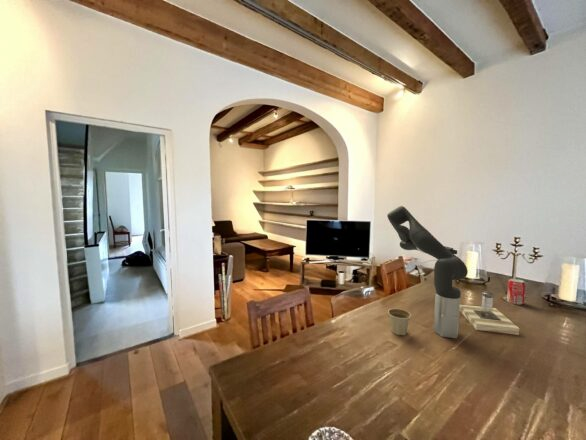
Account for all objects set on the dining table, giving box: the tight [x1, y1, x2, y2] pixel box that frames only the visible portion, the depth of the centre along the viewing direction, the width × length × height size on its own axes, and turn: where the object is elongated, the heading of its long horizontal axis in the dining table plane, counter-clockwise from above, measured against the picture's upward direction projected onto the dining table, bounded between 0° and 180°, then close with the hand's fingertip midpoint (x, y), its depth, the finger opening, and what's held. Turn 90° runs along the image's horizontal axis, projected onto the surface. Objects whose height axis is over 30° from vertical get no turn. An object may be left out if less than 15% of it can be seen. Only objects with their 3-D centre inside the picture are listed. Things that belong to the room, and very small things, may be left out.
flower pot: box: [387, 308, 412, 336], centre depth 110 cm, size 9×9×9 cm
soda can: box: [506, 278, 526, 306], centre depth 140 cm, size 7×7×13 cm
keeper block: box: [459, 304, 520, 336], centre depth 119 cm, size 20×16×3 cm
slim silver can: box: [481, 290, 495, 318], centre depth 119 cm, size 5×5×14 cm
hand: (450, 252), depth 132 cm, fingers open, 8 cm apart
